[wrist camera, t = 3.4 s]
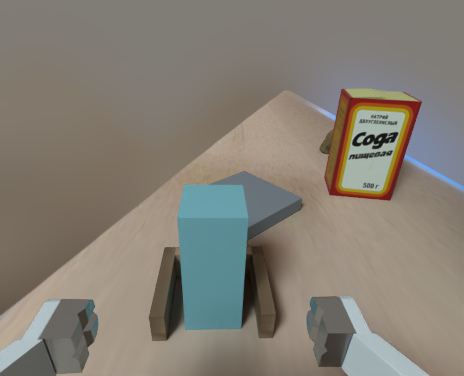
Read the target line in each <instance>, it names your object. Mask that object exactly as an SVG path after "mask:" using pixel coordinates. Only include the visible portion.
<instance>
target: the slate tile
mask: <svg viewBox="0 0 464 376" xmlns="http://www.w3.org/2000/svg"><path fill="white" fill-rule="evenodd" d="M209 185H243V189H244V195H245V201H246V207H247V213H248V231H247V240H249V239H251V238H252V237H254V236H256V235H258V234H259V233H261V232H263V231H264V230H266V229H268V228H270V227H271V226H273V225H275V224H276V223H278V222H280V221H282V220H283V219H285V218H287V217H288V216H290V215H292V214H294V213H295V212H297V211H299V210H300V209H301V202H302V198H301V197H299V196H297V195H295V194H293V193H290V192H288V191H286V190H284V189H282V188H280V187H278V186H275V185H273V184H271V183H269V182H267V181H265V180H263V179H261V178H258V177H256V176H254V175H252V174H250V173H248V172H246V171H243V172H240V173H238V174H235V175H233V176H230V177H227V178H225V179H222V180H219V181H217V182H214V183H212V184H209Z"/></svg>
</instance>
